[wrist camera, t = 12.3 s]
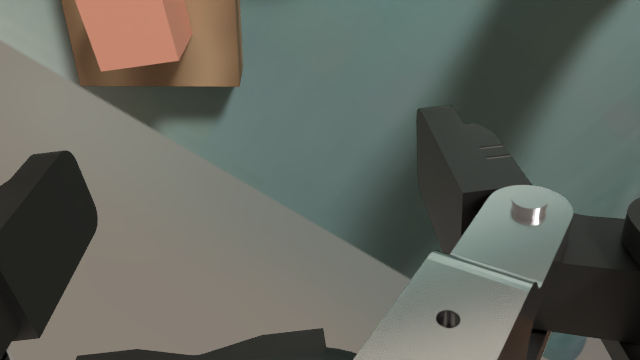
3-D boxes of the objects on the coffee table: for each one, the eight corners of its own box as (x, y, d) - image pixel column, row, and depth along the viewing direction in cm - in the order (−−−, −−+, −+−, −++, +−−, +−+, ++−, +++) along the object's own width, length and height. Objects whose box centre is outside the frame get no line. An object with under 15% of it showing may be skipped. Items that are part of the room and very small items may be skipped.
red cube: (174, -40, 35) (155, -22, 30) (192, 33, 38) (178, 60, 33) (101, -29, 35) (71, -10, 30) (125, 42, 38) (101, 71, 33)
